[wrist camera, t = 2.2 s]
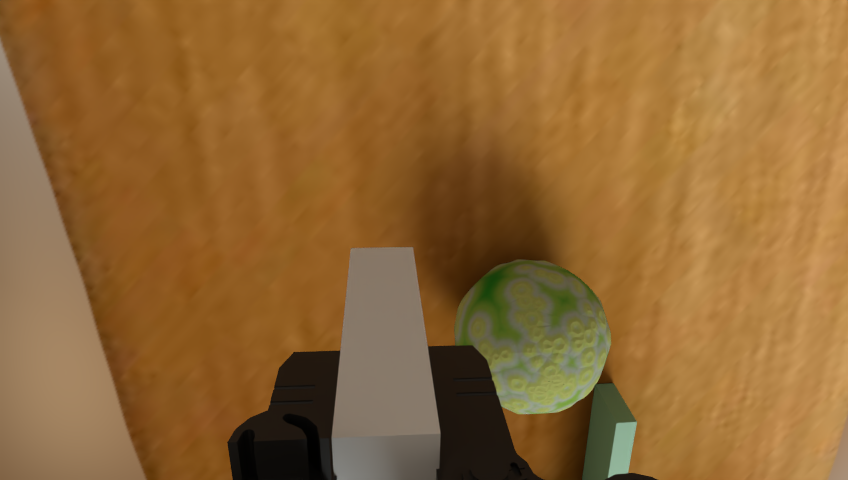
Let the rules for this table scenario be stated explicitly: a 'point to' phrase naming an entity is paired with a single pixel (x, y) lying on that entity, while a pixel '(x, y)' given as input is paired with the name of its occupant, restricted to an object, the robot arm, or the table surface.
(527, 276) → the decorative ball
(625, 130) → the table surface
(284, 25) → the table surface
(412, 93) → the table surface
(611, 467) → the cup
